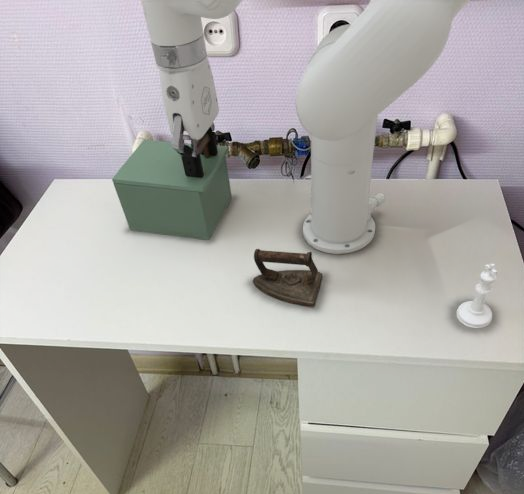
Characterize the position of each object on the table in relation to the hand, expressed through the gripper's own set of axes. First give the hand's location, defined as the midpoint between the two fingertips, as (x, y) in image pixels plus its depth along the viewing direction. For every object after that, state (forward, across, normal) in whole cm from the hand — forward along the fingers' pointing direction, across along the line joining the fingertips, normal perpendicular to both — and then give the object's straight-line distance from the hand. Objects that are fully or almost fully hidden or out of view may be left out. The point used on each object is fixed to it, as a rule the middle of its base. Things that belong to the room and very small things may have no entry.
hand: (202, 164), depth 85 cm
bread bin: (+11, 0, +6) cm, 13 cm away
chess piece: (+11, -16, -47) cm, 51 cm away
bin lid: (+1, 0, +6) cm, 6 cm away
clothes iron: (+11, -15, -18) cm, 26 cm away
